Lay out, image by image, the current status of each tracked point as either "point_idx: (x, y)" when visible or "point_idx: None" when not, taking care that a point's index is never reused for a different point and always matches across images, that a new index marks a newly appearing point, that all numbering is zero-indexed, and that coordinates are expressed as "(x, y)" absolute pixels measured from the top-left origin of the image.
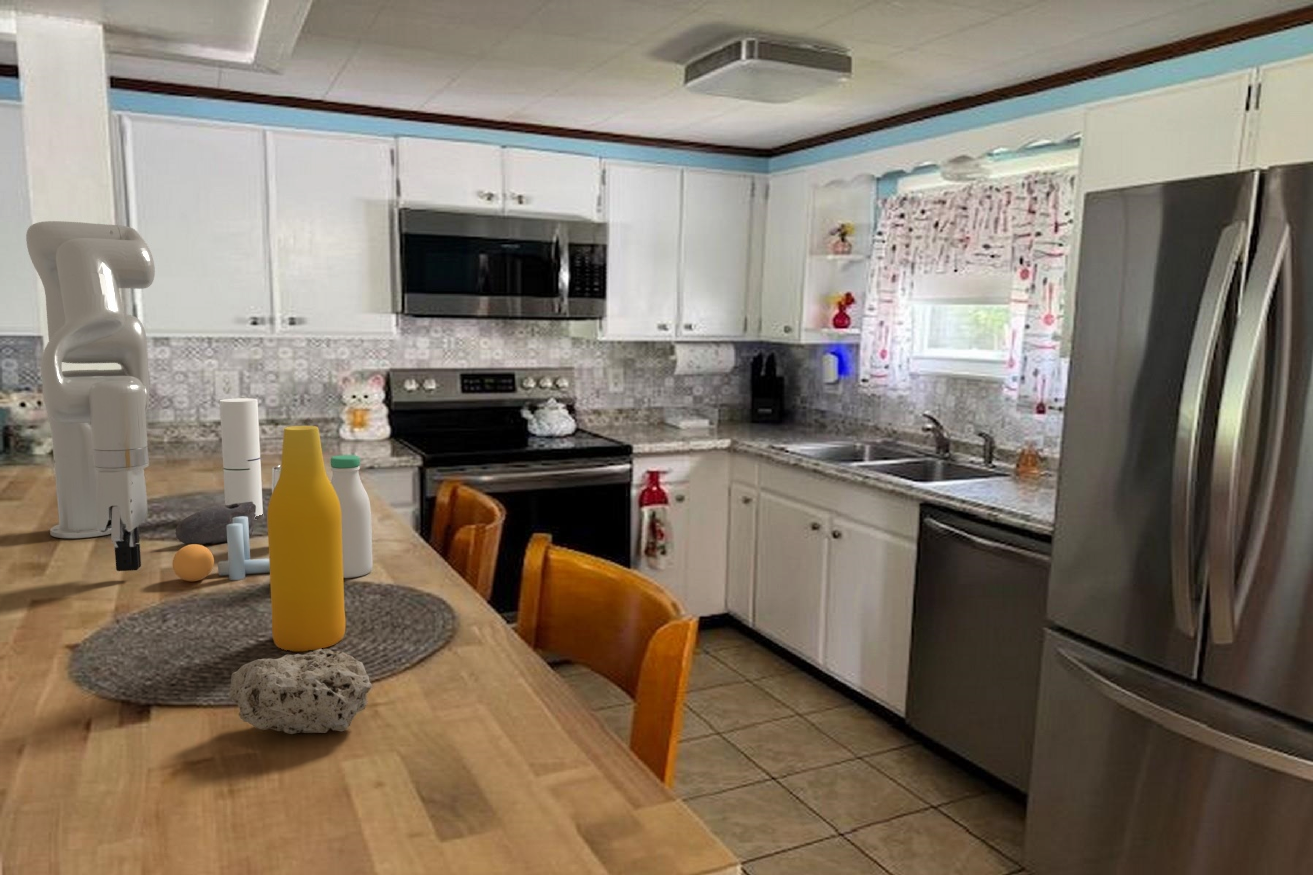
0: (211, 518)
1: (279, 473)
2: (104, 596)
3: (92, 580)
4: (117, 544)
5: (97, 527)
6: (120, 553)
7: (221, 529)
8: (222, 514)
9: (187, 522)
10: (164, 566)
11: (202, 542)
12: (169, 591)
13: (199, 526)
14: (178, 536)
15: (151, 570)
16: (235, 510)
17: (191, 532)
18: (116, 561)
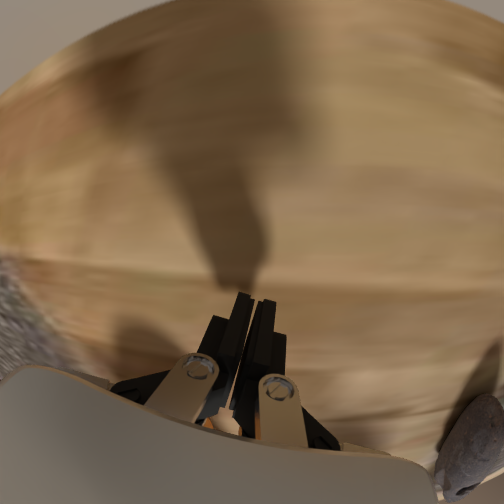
0: (463, 467)
1: None
2: (104, 237)
3: (303, 196)
4: (160, 374)
5: (8, 375)
6: (199, 349)
7: (447, 457)
8: (457, 480)
9: (487, 438)
10: (352, 376)
11: (458, 419)
12: (115, 358)
13: (466, 446)
14: (486, 403)
15: (330, 353)
16: (450, 491)
17: (471, 427)
18: (233, 312)
